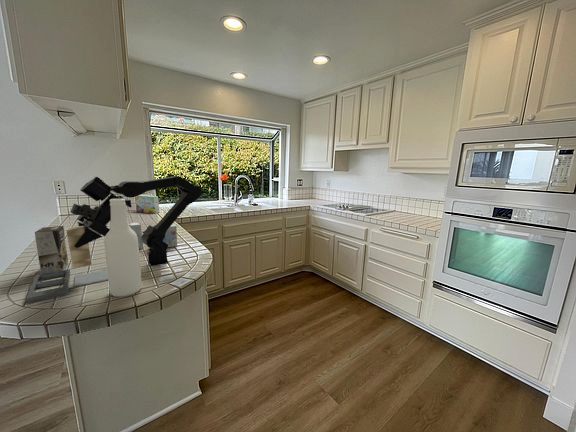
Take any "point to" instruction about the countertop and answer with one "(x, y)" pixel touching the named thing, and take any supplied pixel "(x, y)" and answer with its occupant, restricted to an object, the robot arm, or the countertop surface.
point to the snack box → (147, 204)
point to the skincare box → (137, 233)
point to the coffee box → (51, 249)
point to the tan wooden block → (80, 254)
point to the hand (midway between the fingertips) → (74, 245)
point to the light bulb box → (171, 236)
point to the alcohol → (122, 253)
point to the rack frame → (49, 293)
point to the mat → (91, 278)
